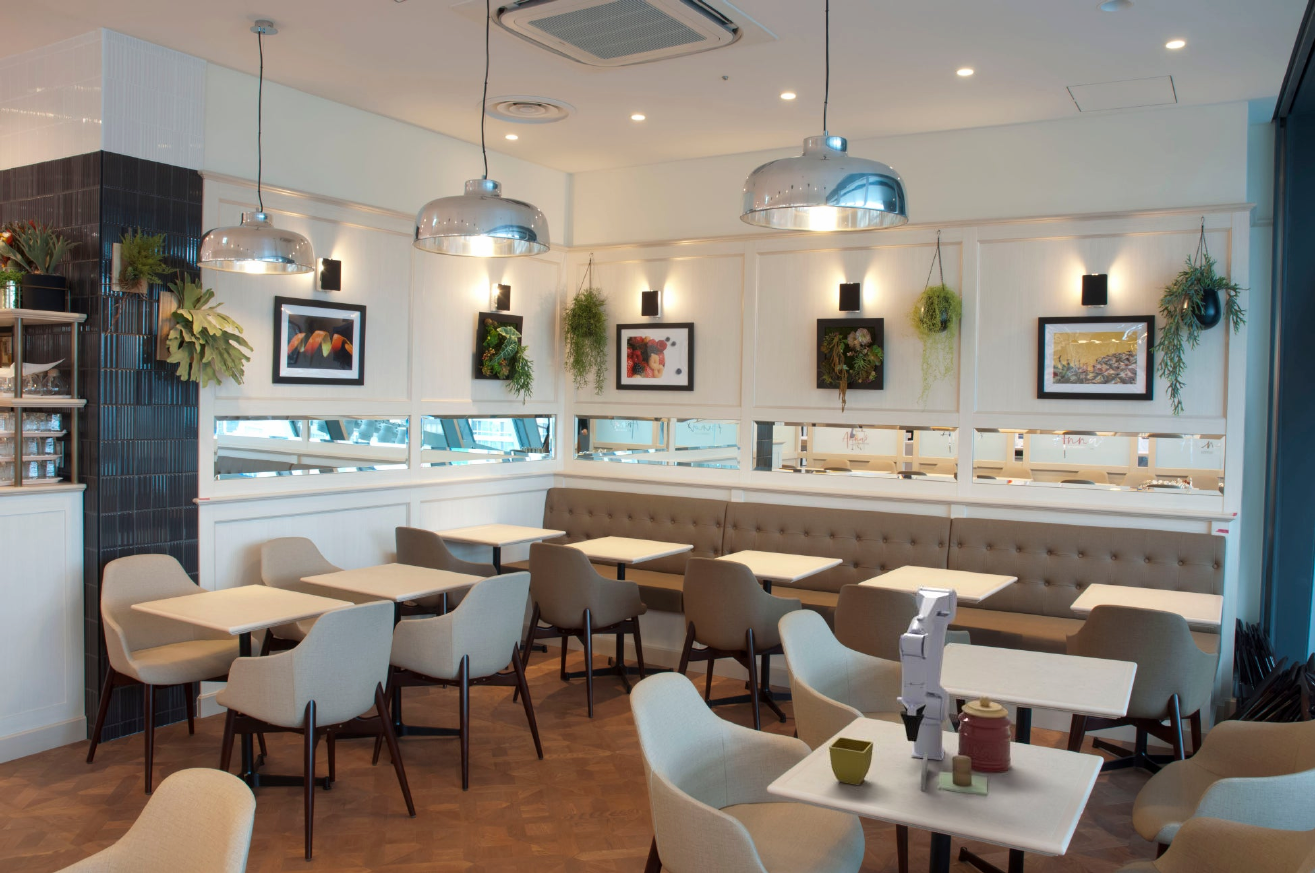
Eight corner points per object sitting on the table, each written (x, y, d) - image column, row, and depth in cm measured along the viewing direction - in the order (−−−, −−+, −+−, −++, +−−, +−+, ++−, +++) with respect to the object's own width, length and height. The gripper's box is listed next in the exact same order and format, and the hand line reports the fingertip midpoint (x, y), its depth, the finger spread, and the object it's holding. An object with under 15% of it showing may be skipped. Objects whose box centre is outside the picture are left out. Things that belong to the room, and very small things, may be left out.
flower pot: (827, 783, 233) (828, 746, 233) (838, 771, 241) (839, 736, 241) (863, 790, 229) (864, 752, 229) (873, 778, 237) (873, 741, 237)
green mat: (939, 773, 241) (939, 771, 241) (986, 778, 237) (986, 776, 237) (938, 789, 230) (938, 787, 230) (986, 795, 227) (987, 792, 227)
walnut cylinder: (952, 779, 236) (951, 754, 235) (971, 780, 234) (970, 755, 234) (952, 785, 231) (952, 760, 231) (972, 786, 230) (971, 761, 230)
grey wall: (924, 768, 244) (924, 752, 244) (927, 768, 244) (927, 752, 244) (920, 790, 229) (921, 774, 229) (924, 791, 229) (924, 774, 229)
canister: (947, 763, 248) (948, 695, 248) (974, 752, 256) (975, 686, 256) (994, 777, 238) (995, 706, 238) (1020, 765, 247) (1021, 697, 247)
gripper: (899, 673, 248) (898, 725, 248) (895, 687, 234) (894, 743, 235) (927, 675, 246) (927, 728, 246) (925, 690, 232) (924, 746, 232)
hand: (913, 736), depth 240 cm, fingers open, 7 cm apart
